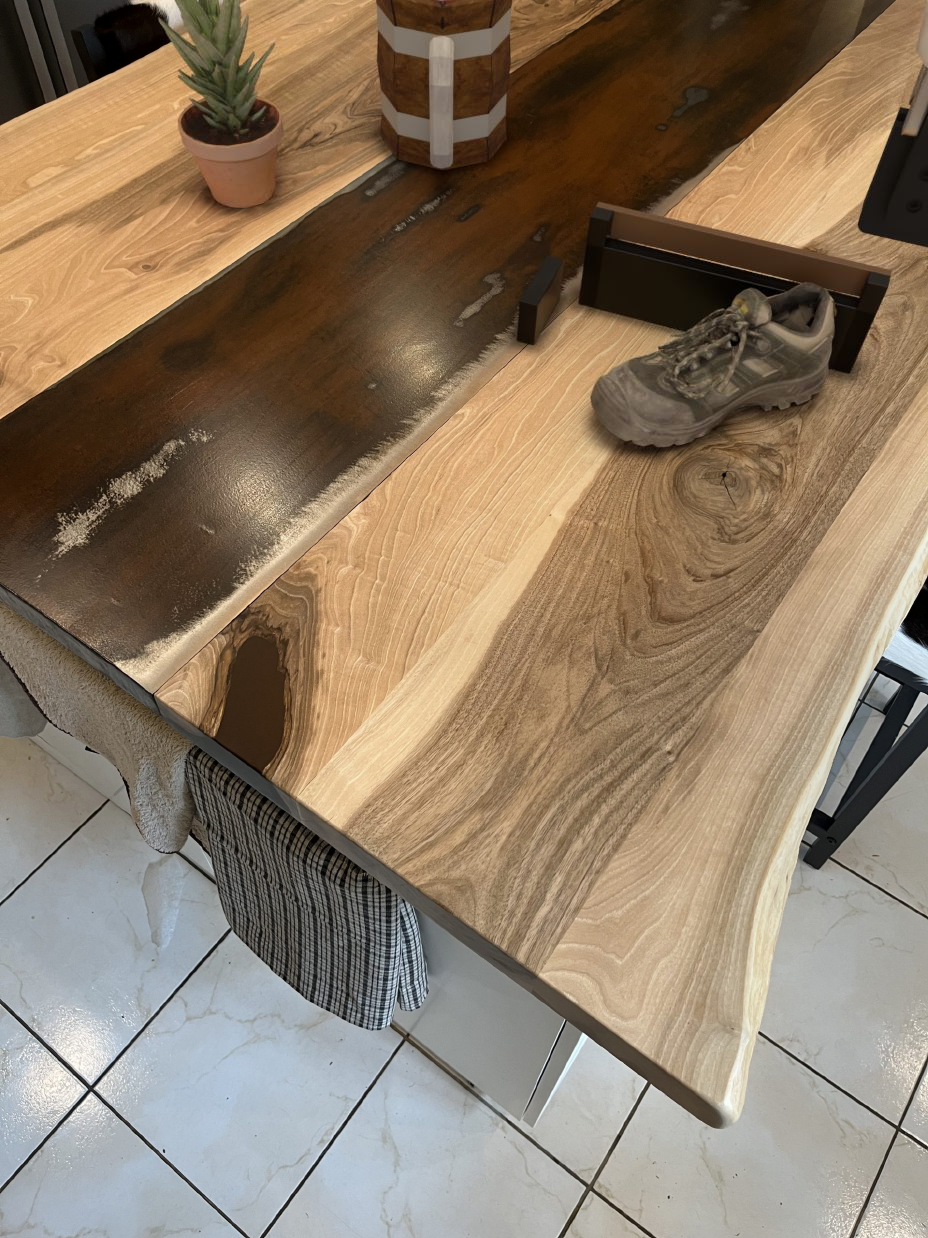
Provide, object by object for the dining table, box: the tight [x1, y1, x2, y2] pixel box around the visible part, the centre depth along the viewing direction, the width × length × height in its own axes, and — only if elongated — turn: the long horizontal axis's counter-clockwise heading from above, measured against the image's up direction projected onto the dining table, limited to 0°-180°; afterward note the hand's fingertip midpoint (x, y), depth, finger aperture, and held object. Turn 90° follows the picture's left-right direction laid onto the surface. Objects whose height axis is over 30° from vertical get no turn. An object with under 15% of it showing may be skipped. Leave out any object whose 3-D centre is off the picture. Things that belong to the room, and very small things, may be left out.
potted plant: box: [158, 0, 285, 209], centre depth 83 cm, size 10×10×25 cm
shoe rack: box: [516, 201, 893, 374], centre depth 77 cm, size 27×9×8 cm, turn 68°
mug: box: [375, 0, 513, 171], centre depth 92 cm, size 20×14×15 cm
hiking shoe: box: [589, 282, 837, 448], centre depth 73 cm, size 9×21×12 cm, turn 114°
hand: (899, 228), depth 36 cm, fingers closed
